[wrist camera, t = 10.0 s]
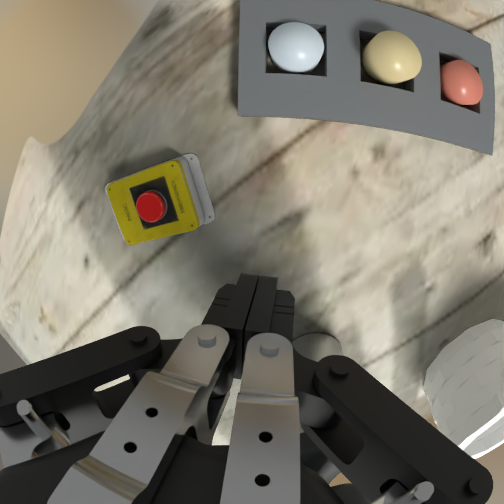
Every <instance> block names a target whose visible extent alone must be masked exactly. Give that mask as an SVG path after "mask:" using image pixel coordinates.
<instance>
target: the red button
mask: <svg viewBox="0 0 504 504" xmlns="http://www.w3.org/2000/svg"><path fill="white" fill-rule="evenodd" d="M440 90H441V99H442V100H444V101H445V102H448V103H451V104H454V105H474V104H477V103H478V102H479V101H480V100H481V98H482V95H483V85H482V81H481V78H480V76H479V74H478V72H477V71H476V69H475V68H474V67H473V66H472V65H471V64H470V63H468V62H466V61H464V60H455V61H451V62H448V63H445V64H441V65H440Z"/></svg>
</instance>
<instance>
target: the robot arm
mask: <svg viewBox="0 0 504 504" xmlns="http://www.w3.org/2000/svg"><path fill="white" fill-rule="evenodd" d="M277 286H278V278H277V277H268V276H260V279H259V276H258V275H250V274H241V275H240V277H239V280H238V282H237V285H233V284H226V285H225V286H223V287H222V288H220V289H219V290H218V292H217V294H216V296H215V299H214V300H213V302H212V305H211V306H210V308H209V310H208V312H207V314H206V316H205V318H204V320H203V322H202V324H201V325H199V326H196V327H193V328H192V329H190V330H189V331H188V332H187V333H186V335H185V336H184V338H182V339H172V340H160V335H159V333H158V332H157V331H156V330H155V329H153V328H151V327H146V326H137V327H132V328H129V329H127V330H124V331H122V332H119V333H116V334H114V335H111V336H108V337H105V338H103V339H100V340H97V341H95V342H92V343H89V344H86V345H84V346H81V347H78V348H75V349H72V350H70V351H67V352H64V353H61V354H58V355H56V356H53V357H50V358H47V359H44V360H41V361H38V362H35V363H32V364H30V365H27V366H24V367H21V368H18V369H15V370H12V371H9V372H6V373H3V374H0V453H1V458H2V462H3V466H4V469H2V470H1V471H0V504H485V503H486V502H487V501H488V499H489V498H490V496H491V493H492V490H493V480H492V476H491V474H490V472H489V471H488V470H487V469H486V468H485V467H484V466H482V465H481V464H480V463H478V462H477V461H476V460H475V459H473V458H472V457H471V456H470V455H468V454H467V453H466V452H465V451H463V450H462V449H461V448H460V447H458V446H457V445H456V444H455V443H453V442H452V441H451V440H450V439H448V438H447V437H446V436H445V435H443V434H442V433H441V432H440V431H438V430H437V429H436V428H435V427H433V426H432V425H431V424H430V423H428V422H427V421H426V420H425V419H424V418H422V417H421V416H420V415H419V414H417V413H416V412H415V411H414V410H413V409H411V408H410V407H409V406H408V405H407V404H405V403H404V402H403V401H402V400H400V399H399V398H398V397H397V396H396V395H394V394H393V393H392V392H391V391H390V390H388V389H387V388H386V387H385V386H384V385H382V384H381V383H380V382H379V381H378V380H376V379H375V378H374V377H373V376H372V375H370V374H369V373H368V372H367V371H366V370H365V369H363V368H362V367H361V366H360V365H359V364H357V363H356V362H355V361H354V360H352V359H350V358H348V357H346V356H343V353H342V348H341V345H340V343H339V342H338V341H337V340H336V339H335V338H333V337H332V336H329V335H327V334H321V333H312V334H307V335H303V336H301V337H299V338H297V339H295V340H294V341H293V342H292V333H293V318H294V301H295V299H294V297H293V295H292V294H291V292H290V291H284V290H277ZM242 373H243V374H242ZM128 374H129V377H130V379H129V380H127V381H124V382H122V383H119V384H117V385H115V386H112V387H110V388H107V389H105V390H102V391H99V392H96V391H94V389H95V388H97V387H98V386H101V385H103V384H106V383H108V382H111V381H113V380H115V379H118V378H120V377H123V376H125V375H128ZM241 377H242V381H241V387H240V393H238V396H237V401H236V408H235V414H234V420H233V426H232V433H231V439H230V445H214V446H212V439H213V436H214V433H215V430H216V428H217V425H218V423H219V420H220V418H221V415H222V413H223V411H224V408H225V406H226V403H227V400H228V398H229V395H230V388H231V385H232V382H233V378H236V379H241ZM341 472H342V473H343V475H344V476H345V477H346V478H347V479H348V480H349V481H350V482H351V483H352V484H351V483H350V484H349V483H348V484H342V485H337V486H333V487H330V486H329V483H330V482H331V481H332V480H333V479H334V478H335V477H336V476H337V475H338V474H339V473H341Z"/></svg>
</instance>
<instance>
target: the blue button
mask: <svg viewBox="0 0 504 504" xmlns="http://www.w3.org/2000/svg"><path fill="white" fill-rule="evenodd" d="M268 47H269V51H270V55H271V59H272V61H273V63H274V65H275V66H276V67H277V68H278V69H279V70H281V71H282V72H284V73H286V74H300V75H305V74H307V73H310V72H311V71H313V70H314V69H315V68H316V67H317V65H318V63H319V61H320V59H321V57H322V54H323V51H324V43H323V39H322V37H321V36H320V34H319V33H318V32H317V31H316V30H315V29H314V28H313V27H311V26H309V25H307V24H304V23H300V22H289V23H285V24H282V25H280V26H278V27H277V28H276V29H274V31H273V32H272V33H271V35H270V37H269V41H268Z"/></svg>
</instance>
